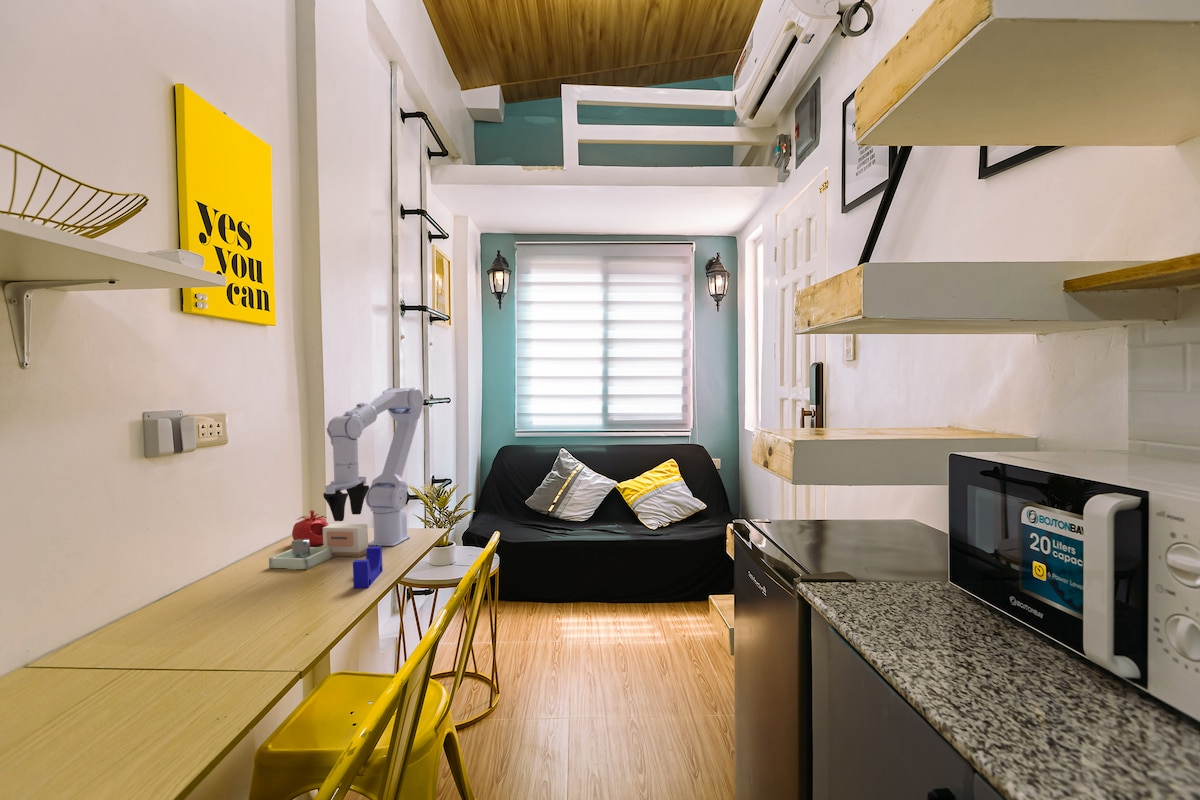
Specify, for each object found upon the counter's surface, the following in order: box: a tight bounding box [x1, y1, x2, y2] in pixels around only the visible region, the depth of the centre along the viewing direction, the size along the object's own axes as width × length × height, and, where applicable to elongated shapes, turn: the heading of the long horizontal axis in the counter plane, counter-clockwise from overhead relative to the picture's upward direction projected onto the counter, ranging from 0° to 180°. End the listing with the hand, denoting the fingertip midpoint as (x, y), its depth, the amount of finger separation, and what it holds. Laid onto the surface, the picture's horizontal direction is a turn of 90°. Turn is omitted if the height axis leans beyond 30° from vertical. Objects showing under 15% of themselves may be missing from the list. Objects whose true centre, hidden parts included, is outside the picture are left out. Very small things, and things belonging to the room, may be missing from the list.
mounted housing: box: [322, 523, 369, 558], centre depth 159 cm, size 6×12×7 cm, turn 80°
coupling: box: [291, 539, 311, 558], centre depth 151 cm, size 4×4×5 cm
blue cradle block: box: [352, 546, 384, 590], centre depth 137 cm, size 12×4×6 cm, turn 6°
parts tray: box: [268, 546, 333, 570], centre depth 151 cm, size 10×10×2 cm
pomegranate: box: [291, 510, 329, 547], centre depth 169 cm, size 10×10×9 cm
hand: (347, 517), depth 154 cm, fingers open, 7 cm apart
